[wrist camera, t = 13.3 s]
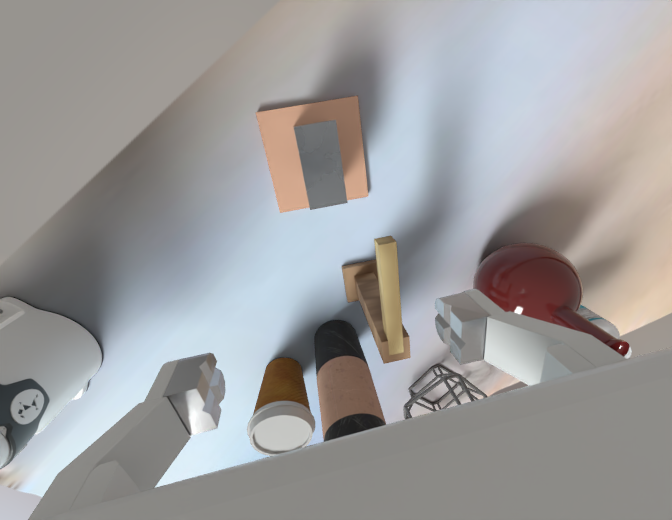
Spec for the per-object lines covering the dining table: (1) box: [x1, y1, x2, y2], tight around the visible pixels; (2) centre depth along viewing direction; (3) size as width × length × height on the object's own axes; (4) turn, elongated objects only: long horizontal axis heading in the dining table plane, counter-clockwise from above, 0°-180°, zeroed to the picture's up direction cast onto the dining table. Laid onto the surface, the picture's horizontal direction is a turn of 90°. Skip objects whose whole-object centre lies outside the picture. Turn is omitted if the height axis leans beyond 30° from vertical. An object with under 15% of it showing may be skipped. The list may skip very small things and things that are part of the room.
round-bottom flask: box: [473, 243, 629, 357], centre depth 39 cm, size 13×13×20 cm
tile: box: [256, 96, 368, 213], centre depth 37 cm, size 12×12×1 cm
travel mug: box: [315, 320, 386, 442], centre depth 41 cm, size 8×8×20 cm
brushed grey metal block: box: [293, 120, 347, 210], centre depth 33 cm, size 8×4×8 cm, turn 9°
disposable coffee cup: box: [247, 358, 315, 456], centre depth 46 cm, size 10×10×12 cm
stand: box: [342, 236, 410, 364], centre depth 36 cm, size 6×16×16 cm, turn 9°
